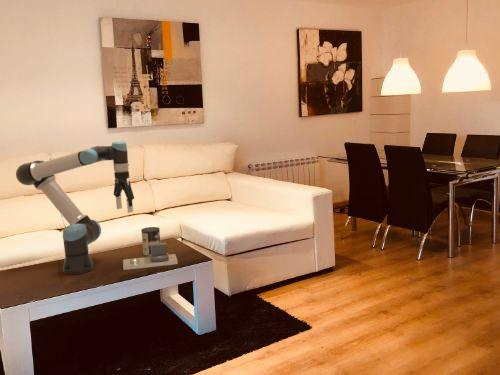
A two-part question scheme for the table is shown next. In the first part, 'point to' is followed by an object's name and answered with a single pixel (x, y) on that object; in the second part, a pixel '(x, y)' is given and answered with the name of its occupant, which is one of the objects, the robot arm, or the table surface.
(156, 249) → the wing knob
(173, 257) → the base plate
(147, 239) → the coffee can
